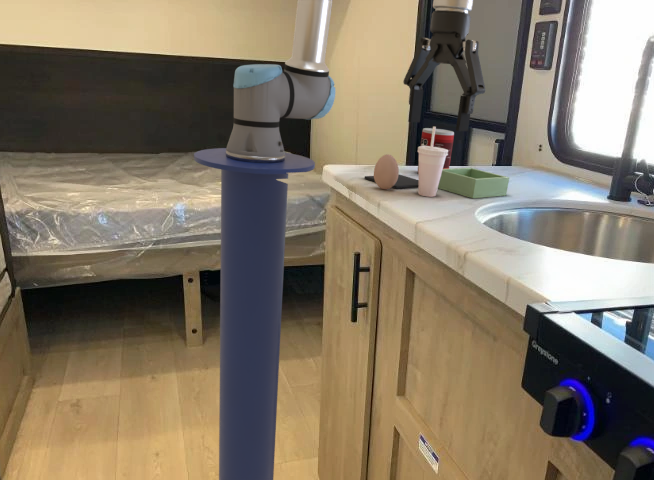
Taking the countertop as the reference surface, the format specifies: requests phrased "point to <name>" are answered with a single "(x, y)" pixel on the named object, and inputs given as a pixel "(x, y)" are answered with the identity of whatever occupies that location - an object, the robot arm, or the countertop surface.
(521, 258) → the countertop surface
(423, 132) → the canned food
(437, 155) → the smoothie
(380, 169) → the egg
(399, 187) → the drinks pad
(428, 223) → the countertop surface
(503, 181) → the bin
